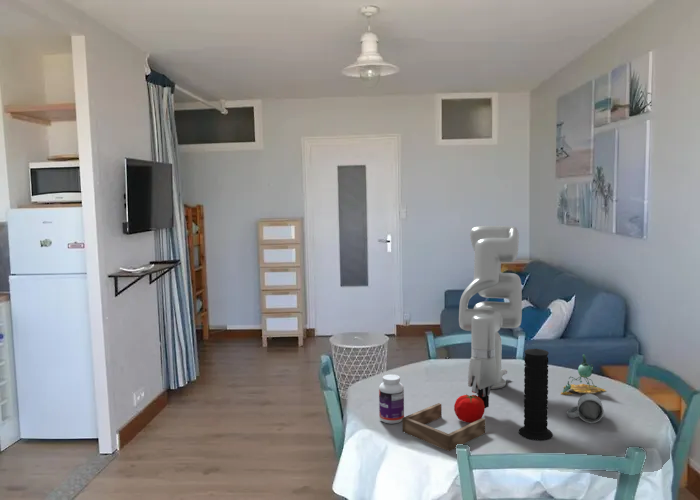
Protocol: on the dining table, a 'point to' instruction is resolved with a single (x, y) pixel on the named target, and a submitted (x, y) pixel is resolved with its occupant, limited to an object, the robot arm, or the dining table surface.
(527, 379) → the handle grip
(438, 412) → the box
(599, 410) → the ceramic mug
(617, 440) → the dining table surface
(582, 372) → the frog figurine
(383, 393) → the pill bottle
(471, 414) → the tomato
